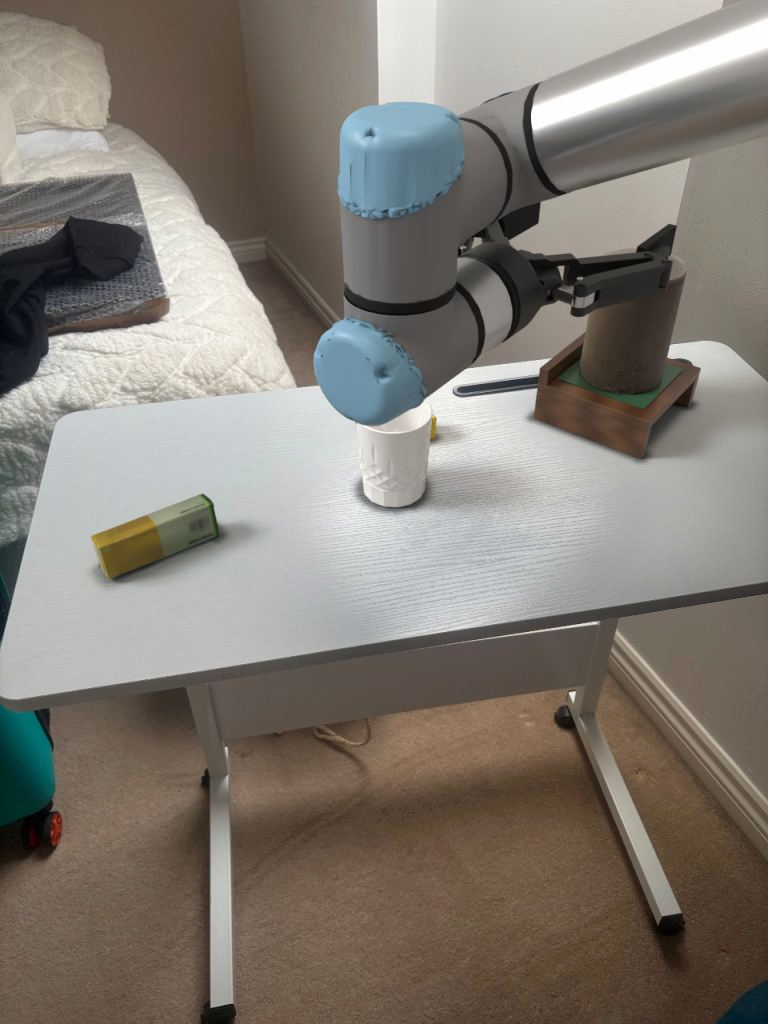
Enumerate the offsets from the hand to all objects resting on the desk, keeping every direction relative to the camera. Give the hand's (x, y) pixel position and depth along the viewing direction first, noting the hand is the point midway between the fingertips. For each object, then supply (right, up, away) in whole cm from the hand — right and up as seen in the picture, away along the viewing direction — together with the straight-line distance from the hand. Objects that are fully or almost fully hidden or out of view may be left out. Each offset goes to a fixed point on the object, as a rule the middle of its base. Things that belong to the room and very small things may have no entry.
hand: (600, 223), depth 77 cm
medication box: (-43, -31, +6) cm, 53 cm away
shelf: (+8, -14, +25) cm, 30 cm away
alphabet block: (-16, -18, +21) cm, 32 cm away
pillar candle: (+8, -11, +22) cm, 26 cm away
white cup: (-19, -25, +13) cm, 34 cm away
